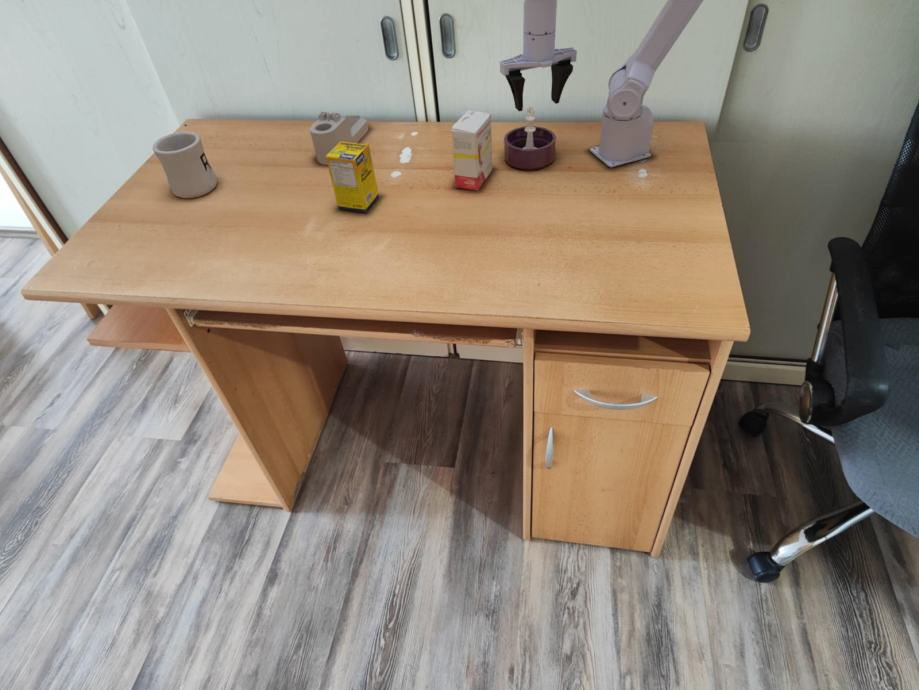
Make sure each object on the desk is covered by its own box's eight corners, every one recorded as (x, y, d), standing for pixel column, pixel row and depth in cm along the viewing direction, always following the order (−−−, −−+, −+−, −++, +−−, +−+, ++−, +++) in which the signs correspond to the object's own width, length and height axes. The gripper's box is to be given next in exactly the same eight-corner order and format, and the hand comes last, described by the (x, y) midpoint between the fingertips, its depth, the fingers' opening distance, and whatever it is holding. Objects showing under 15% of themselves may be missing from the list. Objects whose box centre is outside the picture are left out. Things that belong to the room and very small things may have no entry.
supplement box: (379, 196, 112) (369, 143, 105) (366, 213, 108) (355, 159, 101) (351, 193, 114) (340, 140, 106) (337, 209, 110) (324, 156, 102)
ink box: (477, 191, 111) (475, 132, 103) (454, 187, 113) (449, 129, 104) (493, 169, 117) (492, 111, 108) (470, 166, 118) (467, 108, 110)
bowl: (540, 142, 123) (541, 121, 120) (563, 163, 117) (565, 142, 113) (496, 153, 121) (495, 133, 118) (517, 176, 114) (517, 154, 111)
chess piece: (535, 164, 116) (536, 114, 109) (513, 158, 118) (513, 110, 111) (545, 153, 119) (548, 104, 112) (524, 148, 121) (525, 100, 114)
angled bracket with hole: (371, 126, 134) (364, 91, 128) (337, 165, 122) (328, 129, 116) (348, 125, 135) (341, 90, 129) (312, 163, 123) (303, 127, 118)
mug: (221, 192, 117) (202, 145, 110) (174, 204, 115) (152, 157, 108) (214, 165, 125) (196, 120, 118) (170, 176, 123) (149, 131, 116)
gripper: (509, 44, 100) (509, 121, 110) (586, 29, 103) (580, 106, 112) (495, 31, 105) (496, 106, 115) (569, 18, 107) (564, 92, 117)
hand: (537, 105), depth 114 cm, fingers open, 7 cm apart
